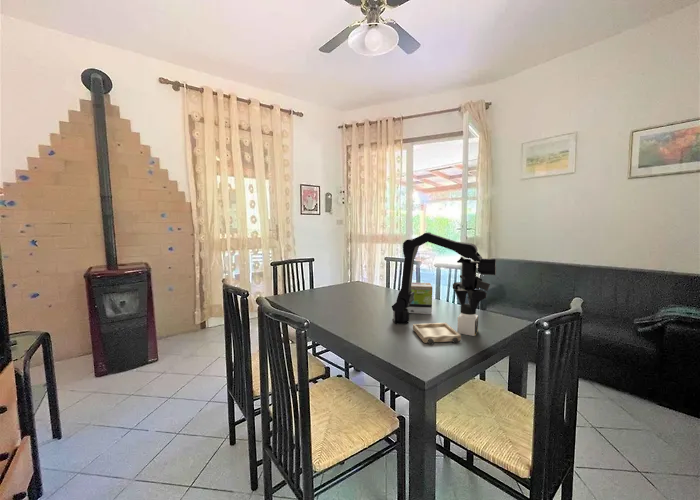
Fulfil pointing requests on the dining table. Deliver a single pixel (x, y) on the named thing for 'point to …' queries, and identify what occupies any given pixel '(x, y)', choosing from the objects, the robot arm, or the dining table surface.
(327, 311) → the dining table surface
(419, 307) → the tea box
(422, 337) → the trolley
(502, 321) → the dining table surface
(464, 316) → the medicine bottle
